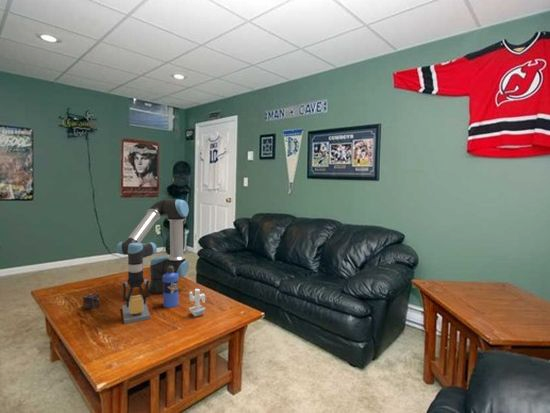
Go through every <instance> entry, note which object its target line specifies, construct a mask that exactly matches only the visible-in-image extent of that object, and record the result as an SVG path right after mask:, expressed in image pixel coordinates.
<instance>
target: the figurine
mask: <svg viewBox="0 0 550 413" xmlns="http://www.w3.org/2000/svg"><path fill="white" fill-rule="evenodd" d="M188 294H189V296H188V297H189V299H188V300H189V301H190V302H194V306H192V307H190V306H189V307H188V309H189V311H190V313H191V315H192V316H194V317H201V316H203V315H204V313H205V311H206V310H207V308H206V307H204V306H203V305H201V303H200V300H201V302H202V303H203V304H204V303H205V302H206V295H205V293H201V289H199V288H195V289H194V294H193V292H192V291H189V293H188Z"/></svg>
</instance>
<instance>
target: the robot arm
mask: <svg viewBox="0 0 550 413" xmlns="http://www.w3.org/2000/svg"><path fill="white" fill-rule="evenodd" d="M189 211H190V210H189V204H188V203H187V201H186V200H185V199H184V200H183V199H178V198H177V199H176V198H175V199H173V198H171V199H170V198H164V199H163V198H162V199H159V200H158V201H156V202H154V203H153V204H152V205H151V206H150V207H149V208H148V209H147V210H146V214H145V215H144V217H143V218H142V219H141V221H140V222H139V223H138V224H137V226H135V228H134V229H133V231H132V232H131V233H130V235H129V236H128V237H127V239H126V240H125V241H120V242H118V243H117V244H116V252H117V254H119V255H123V256H127V262H128V263H127V266H128V267H127V270H128V274H127V275H128V276H127V281H124V282H122V283H121V284H122V287H123V288H122V289H123V290H122V301H123V302H125V305H126V306H127V307H129V313H131V311H130V296H132V292H133V289H134V288H135V289H136V288H139V290H140V293H141V296H142V307H143V311H144V304H146V305H147V298H149V297H150V295H149V294H150V293H151V294H161V293H162V294H163V289H164V285H163V275H164V274H166V273H167V269H168V268H167V267H168V266H170V265H172V266H173V267H174V268H173V269H174V273H177V274H178V278H184V277H185V276H186V275H187V274H188V272H189V268H190V263H189V261H188V260H186V256H185V255H184V221H185V220H186V217H187V216H188V215H189ZM162 217H167V220H168V221H169V248H170V249H169V254H170V256H158V257H157V256H156V257H154V258H151V260H150V264H149V266H150V267H149V270H150V272H149V273H150V275H149V276H150V280H149V279H148V278H146V279H144V258H148V257H150V256H152V255H154V254H156V252H157V250H158V249H157V248H158V247H157V245H156V244H155V243H154V242H151V241H150V242H145V243H143V242H142V241H143V239H145V237H146V236H147V234H149V231H150V230H151V229H152V227H153V226H154V225H155V223H156V222H157V221H159V220H160V219H161V218H162ZM142 284H144V286H145V293H144V290H143V286H142ZM127 286H129V290H128V292H127V291H126V290H127ZM126 294H127V296H126Z"/></svg>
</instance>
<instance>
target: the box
mask: <svg viewBox="0 0 550 413" xmlns="http://www.w3.org/2000/svg"><path fill="white" fill-rule="evenodd" d="M82 300H83V301H82V303H83V309H84V308H86V309H85V310H94V309H95V307H96V308H98V307H100V294H97V293H89V294H87V295H85V296H83V297H82ZM97 306H98V307H97ZM93 308H94V309H93Z"/></svg>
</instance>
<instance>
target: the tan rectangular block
mask: <svg viewBox="0 0 550 413" xmlns="http://www.w3.org/2000/svg"><path fill="white" fill-rule="evenodd" d="M142 298H143V296H142V294H137V295H131V296H130V299H129V300H130V311H131V314H135V313H141V312H143V307H142Z"/></svg>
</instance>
